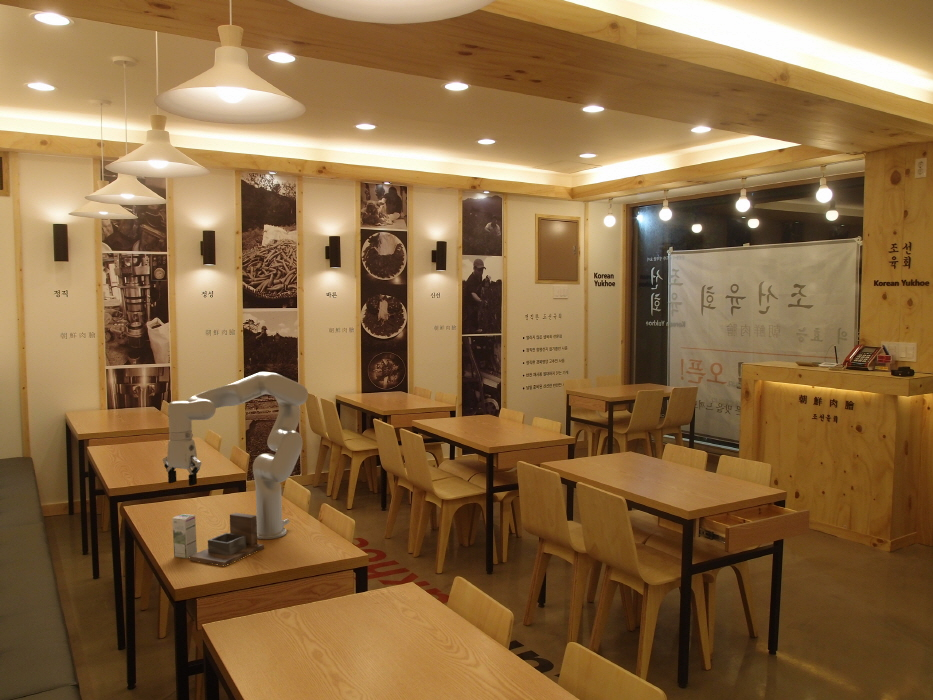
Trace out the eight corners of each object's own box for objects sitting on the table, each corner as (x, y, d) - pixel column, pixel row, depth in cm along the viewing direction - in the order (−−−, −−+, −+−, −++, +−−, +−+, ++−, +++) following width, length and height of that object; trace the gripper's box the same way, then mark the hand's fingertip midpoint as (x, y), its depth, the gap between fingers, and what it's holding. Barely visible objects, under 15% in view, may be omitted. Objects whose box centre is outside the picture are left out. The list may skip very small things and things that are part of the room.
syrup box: (197, 553, 263) (196, 514, 262) (186, 559, 258) (184, 518, 257) (184, 552, 265) (183, 513, 264) (173, 557, 259) (171, 517, 259)
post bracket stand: (230, 543, 275) (229, 511, 274) (264, 548, 268) (262, 516, 267) (189, 560, 256) (188, 526, 256) (224, 566, 250) (223, 532, 249)
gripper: (207, 435, 258) (209, 483, 259) (170, 432, 266) (172, 479, 267) (191, 439, 251) (192, 488, 253) (154, 436, 259) (156, 484, 260)
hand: (182, 483), depth 260 cm, fingers open, 9 cm apart
